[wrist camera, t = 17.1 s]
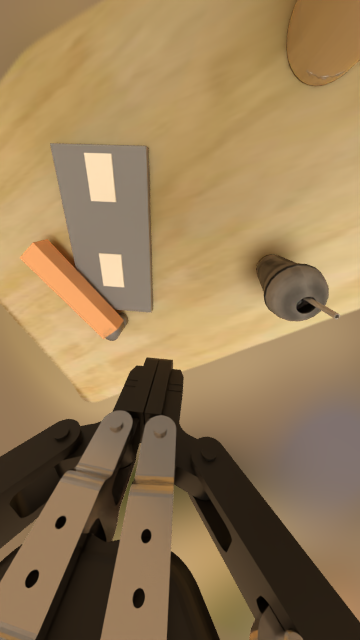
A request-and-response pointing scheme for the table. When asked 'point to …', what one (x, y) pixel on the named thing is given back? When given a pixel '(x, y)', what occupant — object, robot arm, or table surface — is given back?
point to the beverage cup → (293, 289)
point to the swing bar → (73, 288)
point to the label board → (109, 219)
